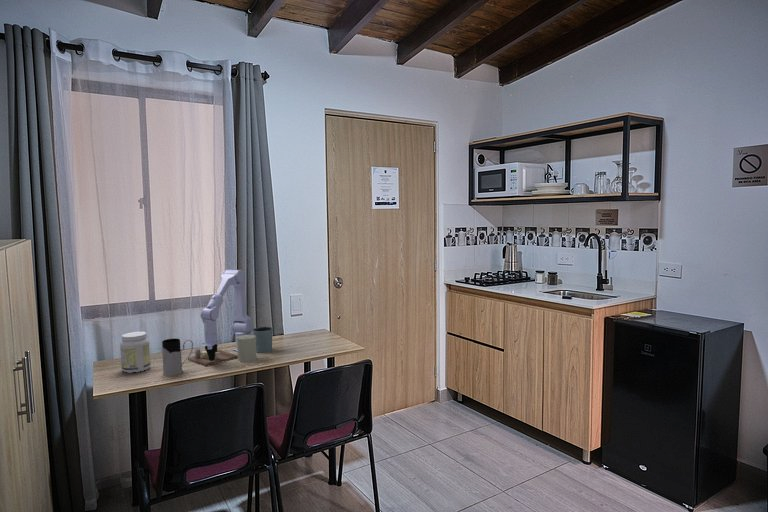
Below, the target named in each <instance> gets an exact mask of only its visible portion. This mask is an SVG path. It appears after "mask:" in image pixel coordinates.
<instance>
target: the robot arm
mask: <svg viewBox="0 0 768 512" xmlns="http://www.w3.org/2000/svg"><path fill="white" fill-rule="evenodd" d="M245 273H246V272H244V271H243V270H242V269H224V270H223V271H222V273H221V275H220V278H221V281H220V284H219V286H218V288H217V291H216V294H213V295H212V296H211V297H210V300H209V301H208V303H207V305H206V307H204V308H203V309H201V312H200V316H199V317H200V318H201V321H202V324H203V334H204V341H202V342H201V343H202V345H204V351H207V353H208V357H209V360H210V361H214V359H215V352H216V349H217V350H218V346H219V344H218V343H219V341H218V331H217V330H218V327H217V320H218V318H219V316H220V315H219V314H220V308H221V306H222V304H223V302H224V295H225V294H226V292H227V291H228V289H229V288H230V286H233V287H234V304H235V316H234V317H233V318H232V320H231V321H232V323H231V331H232V332H233V333H234V335H235V348H233V349H232V351H234V350H235V352H238V349H237V337H238V336H241V335H253V329H254V325H253V322H252V318H251V317H250V316H249V315H248V314H247V302H246V301H247V300H246V299H247V298H246V274H245Z"/></svg>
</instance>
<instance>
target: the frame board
mask: <svg viewBox="0 0 768 512" xmlns="http://www.w3.org/2000/svg"><path fill="white" fill-rule="evenodd" d="M194 352H195V353H194V355H195V356H192V357H190V356H189V358H188V359H187V361H189V362H192V363H195V364H197V365H200V364H201V366H203V365H204V367H208V365H210V366H212V364H213V365H216V364H215V363H217V364H219V363H218V362H221V363H223V362H222V361H224V362H227V361H226V360H228V361H230V360H229V359H232V360H234V359H233V358H236V359H238V354H234V353H231V352H227V351H225V350H222V349H219V350H218V348H217V349H216V352H218V353H219V359H217V360H214V361H210V360H209V359H205V358H200V352H201V349H200V348H196V349H194Z"/></svg>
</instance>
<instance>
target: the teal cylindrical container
mask: <svg viewBox="0 0 768 512" xmlns="http://www.w3.org/2000/svg"><path fill="white" fill-rule="evenodd" d="M252 332H253V335H255V336H256V354H269V353H271V352H273V332H274V329H273V327H271V326H260V327H255V328H254V327H253V329H252ZM268 352H269V353H268Z"/></svg>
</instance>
